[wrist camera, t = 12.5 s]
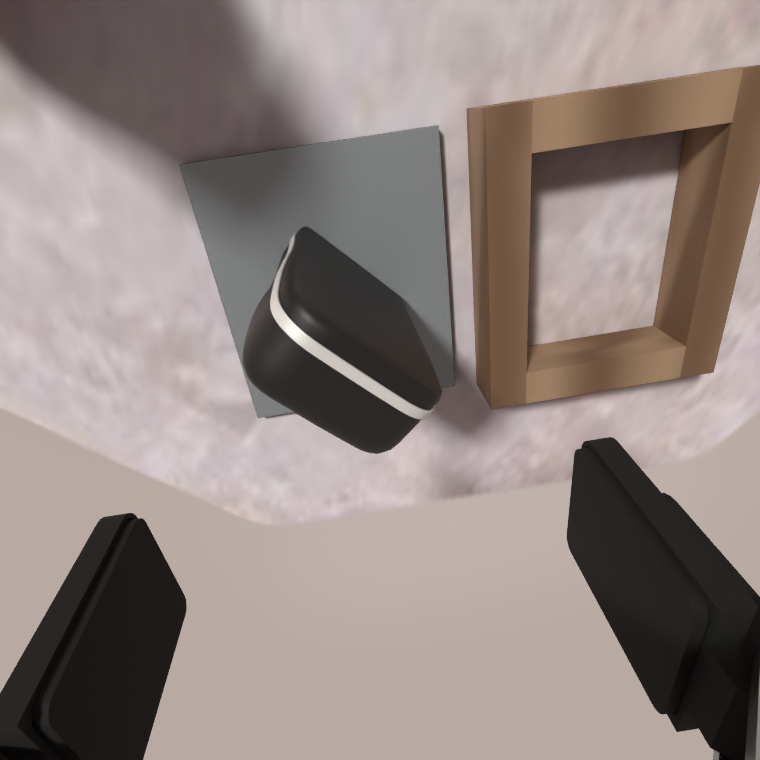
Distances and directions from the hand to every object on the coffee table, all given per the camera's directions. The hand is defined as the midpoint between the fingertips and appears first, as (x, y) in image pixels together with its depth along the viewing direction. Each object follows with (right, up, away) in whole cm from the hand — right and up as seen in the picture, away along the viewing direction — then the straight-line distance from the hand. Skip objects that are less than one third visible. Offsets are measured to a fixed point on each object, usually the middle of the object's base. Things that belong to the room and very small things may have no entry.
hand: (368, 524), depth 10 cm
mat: (-2, +8, +15) cm, 18 cm away
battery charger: (-2, +8, +15) cm, 17 cm away
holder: (+12, +10, +16) cm, 22 cm away
